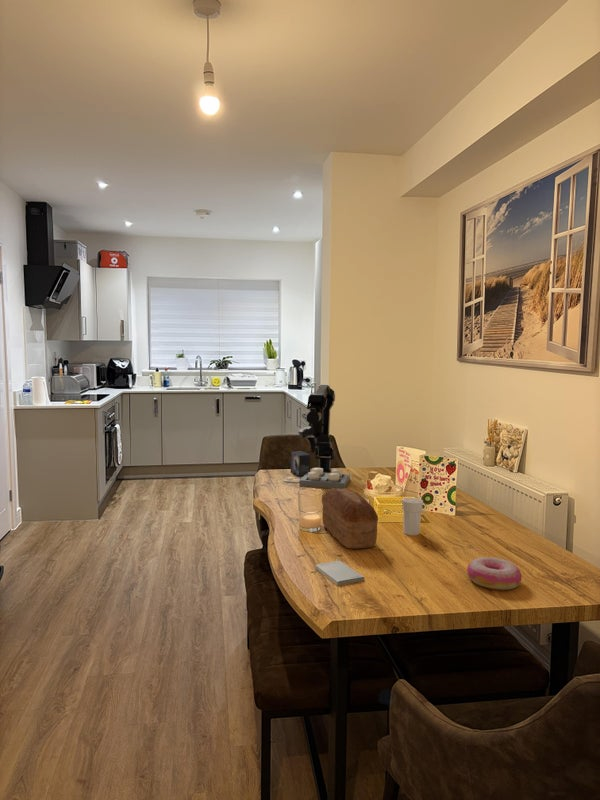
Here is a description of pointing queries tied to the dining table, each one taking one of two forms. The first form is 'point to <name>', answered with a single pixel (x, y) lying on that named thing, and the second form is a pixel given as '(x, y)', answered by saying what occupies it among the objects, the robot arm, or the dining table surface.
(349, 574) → the hard drive
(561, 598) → the dining table surface
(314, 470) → the button
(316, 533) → the dining table surface
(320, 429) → the robot arm
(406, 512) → the cup
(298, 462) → the small box
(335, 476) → the button
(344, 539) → the bread
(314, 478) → the button
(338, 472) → the button
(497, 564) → the donut
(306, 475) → the board
